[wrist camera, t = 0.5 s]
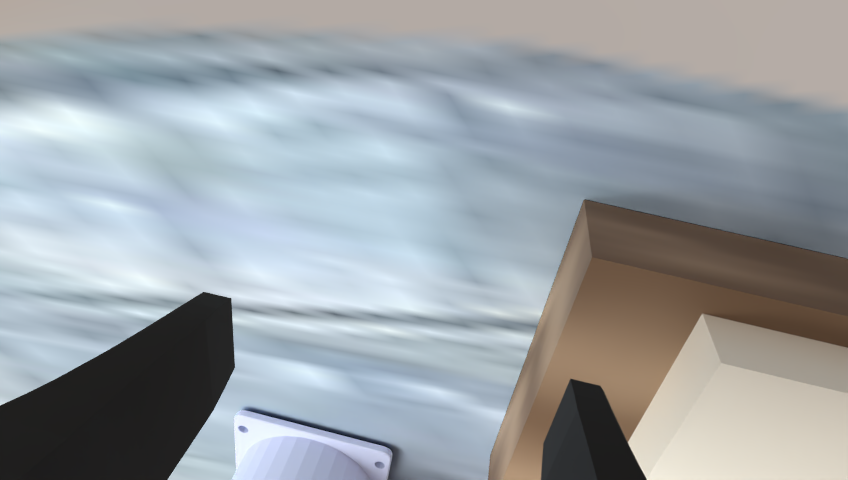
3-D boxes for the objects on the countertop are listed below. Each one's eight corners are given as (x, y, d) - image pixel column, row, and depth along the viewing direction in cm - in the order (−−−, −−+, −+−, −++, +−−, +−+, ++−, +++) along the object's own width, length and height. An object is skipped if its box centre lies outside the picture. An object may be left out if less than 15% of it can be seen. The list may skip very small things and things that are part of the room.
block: (774, 556, 21) (794, 614, 19) (589, 508, 21) (593, 560, 20) (955, 372, 15) (1005, 431, 14) (702, 313, 16) (721, 362, 14)
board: (769, 527, 25) (799, 610, 22) (490, 455, 26) (483, 526, 23) (989, 291, 18) (1078, 370, 15) (583, 199, 18) (591, 257, 15)
